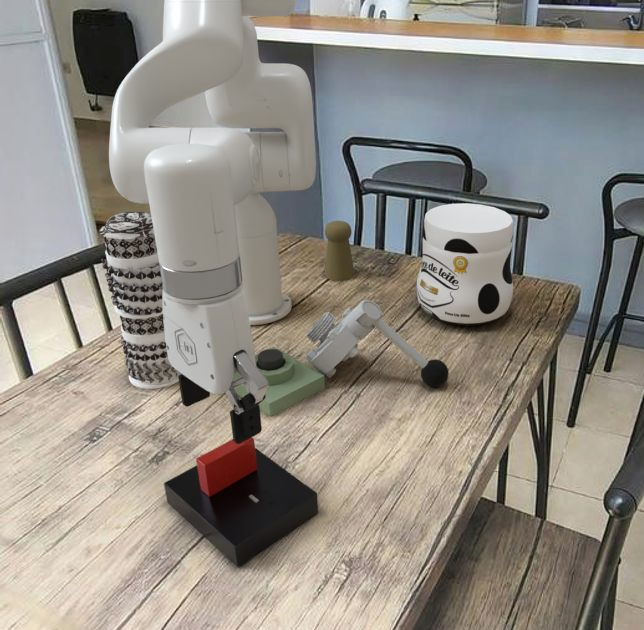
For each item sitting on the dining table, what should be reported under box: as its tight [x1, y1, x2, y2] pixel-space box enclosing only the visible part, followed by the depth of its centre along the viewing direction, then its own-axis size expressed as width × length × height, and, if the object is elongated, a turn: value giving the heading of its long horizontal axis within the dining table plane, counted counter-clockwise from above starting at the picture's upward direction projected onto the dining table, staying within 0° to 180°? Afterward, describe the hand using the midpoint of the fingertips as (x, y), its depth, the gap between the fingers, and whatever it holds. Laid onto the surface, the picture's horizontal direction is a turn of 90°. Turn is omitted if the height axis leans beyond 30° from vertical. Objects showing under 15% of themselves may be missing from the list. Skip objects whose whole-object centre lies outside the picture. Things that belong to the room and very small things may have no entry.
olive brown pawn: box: [324, 220, 355, 282], centre depth 135 cm, size 6×6×11 cm
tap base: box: [163, 447, 319, 568], centre depth 78 cm, size 14×11×3 cm
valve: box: [304, 299, 450, 388], centre depth 103 cm, size 10×20×15 cm
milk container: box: [415, 202, 514, 327], centre depth 120 cm, size 17×17×18 cm
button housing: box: [232, 346, 326, 417], centre depth 100 cm, size 12×10×4 cm
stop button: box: [257, 348, 284, 371], centre depth 99 cm, size 4×4×2 cm
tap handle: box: [195, 437, 257, 497], centre depth 78 cm, size 6×2×5 cm, turn 138°
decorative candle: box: [99, 211, 181, 390], centre depth 98 cm, size 9×9×25 cm
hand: (221, 418), depth 74 cm, fingers open, 9 cm apart
